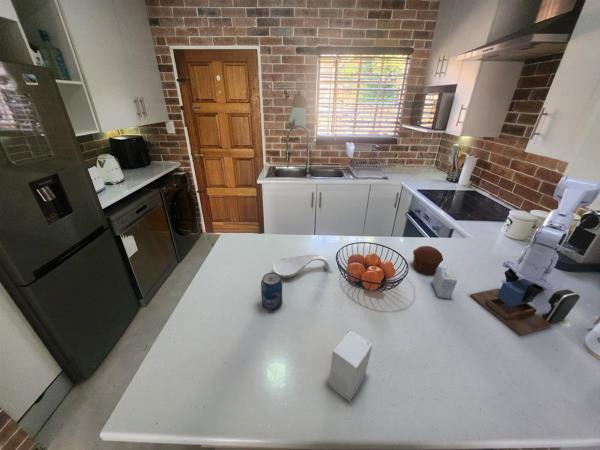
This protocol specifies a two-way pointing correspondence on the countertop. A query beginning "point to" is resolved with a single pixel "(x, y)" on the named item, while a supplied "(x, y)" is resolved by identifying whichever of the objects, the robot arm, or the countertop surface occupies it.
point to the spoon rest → (296, 264)
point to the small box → (349, 364)
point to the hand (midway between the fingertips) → (516, 295)
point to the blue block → (514, 292)
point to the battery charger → (560, 305)
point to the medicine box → (444, 282)
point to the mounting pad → (512, 313)
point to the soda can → (271, 292)
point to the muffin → (426, 259)
